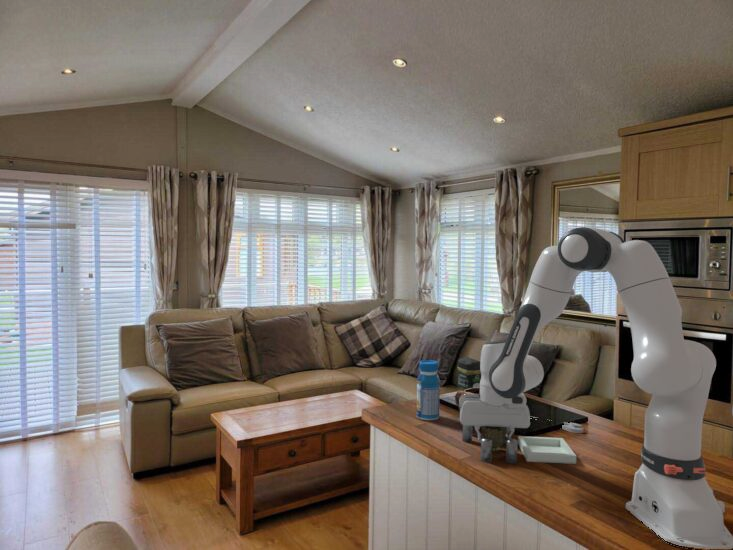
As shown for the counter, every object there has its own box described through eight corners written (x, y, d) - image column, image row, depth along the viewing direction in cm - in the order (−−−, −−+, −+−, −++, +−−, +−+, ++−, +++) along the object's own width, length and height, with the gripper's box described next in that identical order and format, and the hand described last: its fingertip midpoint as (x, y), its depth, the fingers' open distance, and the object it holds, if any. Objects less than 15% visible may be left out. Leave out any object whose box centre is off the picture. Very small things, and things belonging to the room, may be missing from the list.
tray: (576, 464, 140) (576, 455, 140) (526, 461, 142) (527, 453, 142) (562, 445, 154) (562, 438, 153) (517, 443, 155) (517, 435, 155)
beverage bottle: (429, 422, 173) (430, 365, 172) (411, 416, 179) (411, 361, 178) (444, 417, 179) (445, 362, 178) (426, 411, 185) (427, 358, 184)
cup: (507, 456, 145) (507, 429, 144) (481, 454, 146) (481, 427, 146) (505, 447, 152) (505, 421, 152) (480, 444, 154) (480, 419, 153)
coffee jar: (453, 404, 195) (454, 356, 194) (469, 401, 198) (470, 355, 197) (468, 411, 186) (469, 361, 185) (485, 408, 190) (486, 360, 189)
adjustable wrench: (508, 418, 180) (508, 413, 180) (516, 414, 185) (516, 409, 185) (580, 435, 164) (580, 430, 164) (586, 430, 168) (586, 425, 168)
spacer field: (521, 463, 140) (522, 442, 140) (467, 460, 142) (467, 440, 141) (510, 441, 157) (511, 422, 157) (462, 438, 159) (462, 420, 158)
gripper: (460, 396, 146) (459, 442, 147) (532, 399, 144) (531, 446, 145) (458, 390, 153) (457, 435, 153) (527, 392, 150) (526, 438, 151)
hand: (493, 440), depth 149 cm, fingers closed on cup, 6 cm apart
